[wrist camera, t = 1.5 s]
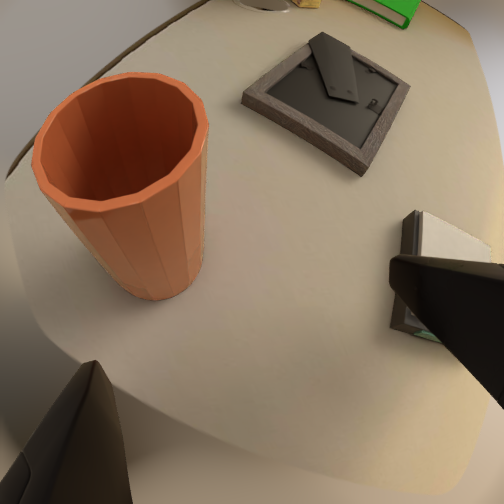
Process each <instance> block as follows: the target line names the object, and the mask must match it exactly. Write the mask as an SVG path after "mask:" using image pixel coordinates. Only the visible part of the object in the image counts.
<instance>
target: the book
mask: <svg viewBox="0 0 504 504" xmlns="http://www.w3.org/2000/svg"><path fill="white" fill-rule="evenodd" d="M347 1H349V2H351V3H354V4H356V5H358V6H360V7H362V8H364V9H366V10H368V11H370V12H372V13H374V14H376V15H378V16H380V17H382V18H384V19H386V20H387V21H389V22H391V23H393V24H395V25H396V26H398V27H400V28H402V29H405V28H407V27H408V25H409V23H410V21H411V19H412V17H413V15H414V13H415V11H416V9H417V7H418V5H419V3H420V1H421V0H347Z"/></svg>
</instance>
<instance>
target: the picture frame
mask: <svg viewBox="0 0 504 504" xmlns="http://www.w3.org/2000/svg"><path fill="white" fill-rule="evenodd" d="M308 42H309V43H307V44H306V45H305V46H303V47H302V48H300V49H299V50H297V51H296V52H295V53H293V54H292V55H291V56H289V57H288V58H286V59H285V60H284V61H282V62H281V63H280V64H278V65H277V66H276V67H274V68H273V69H272V70H270V71H269V72H268V73H266V74H265V75H264V76H263V77H261V78H260V79H259V80H257V81H256V82H255V83H254V84H252V85H251V86H250V87H249V88H247V89H246V90H245V91H244V92H243V96H242V102H241V104H243V105H245V106H247V107H249V108H251V109H253V110H254V111H256V112H258V113H260V114H262V115H264V116H265V117H267V118H269V119H271V120H272V121H274V122H276V123H278V124H279V125H281V126H283V127H285V128H286V129H288V130H290V131H291V132H293V133H295V134H296V135H298V136H300V137H301V138H303V139H305V140H306V141H308V142H310V143H311V144H313V145H314V146H316V147H318V148H319V149H321V150H322V151H324V152H325V153H327V154H329V155H330V156H332V157H333V158H335V159H336V160H338V161H339V162H341V163H342V164H344V165H345V166H347V167H348V168H350V169H351V170H353V171H354V172H356V173H357V174H359V175H360V176H361V177H362V176H363V174H364V173H365V172H366V170H367V169H368V168H369V166H370V164H371V163H372V161H373V159H374V157H375V155H376V153H377V151H378V149H379V148H380V146H381V144H382V142H383V140H384V138H385V136H386V134H387V132H388V130H389V129H390V127H391V125H392V123H393V121H394V119H395V117H396V115H397V113H398V111H399V109H400V107H401V105H402V103H403V101H404V99H405V97H406V95H407V93H408V91H409V89H410V87H411V86H410V85H408V84H407V83H405V82H404V81H402V80H401V79H399V78H398V77H396V76H395V75H393V74H392V73H390V72H389V71H387V70H385V69H384V68H382V67H381V66H379V65H377V64H376V63H374V62H372V61H371V60H369V59H367V58H366V57H364V56H362V55H360V54H359V53H357V52H355V51H353V50H351V49H350V47H349V46H347V45H346V44H344V43H342V42H340V41H339V40H337V39H335V38H333V37H331V36H330V35H328V34H326V33H324V32H321V33H319V34H318V35H316V36H315V37H313V38H312V39H310V40H309V41H308Z"/></svg>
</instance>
